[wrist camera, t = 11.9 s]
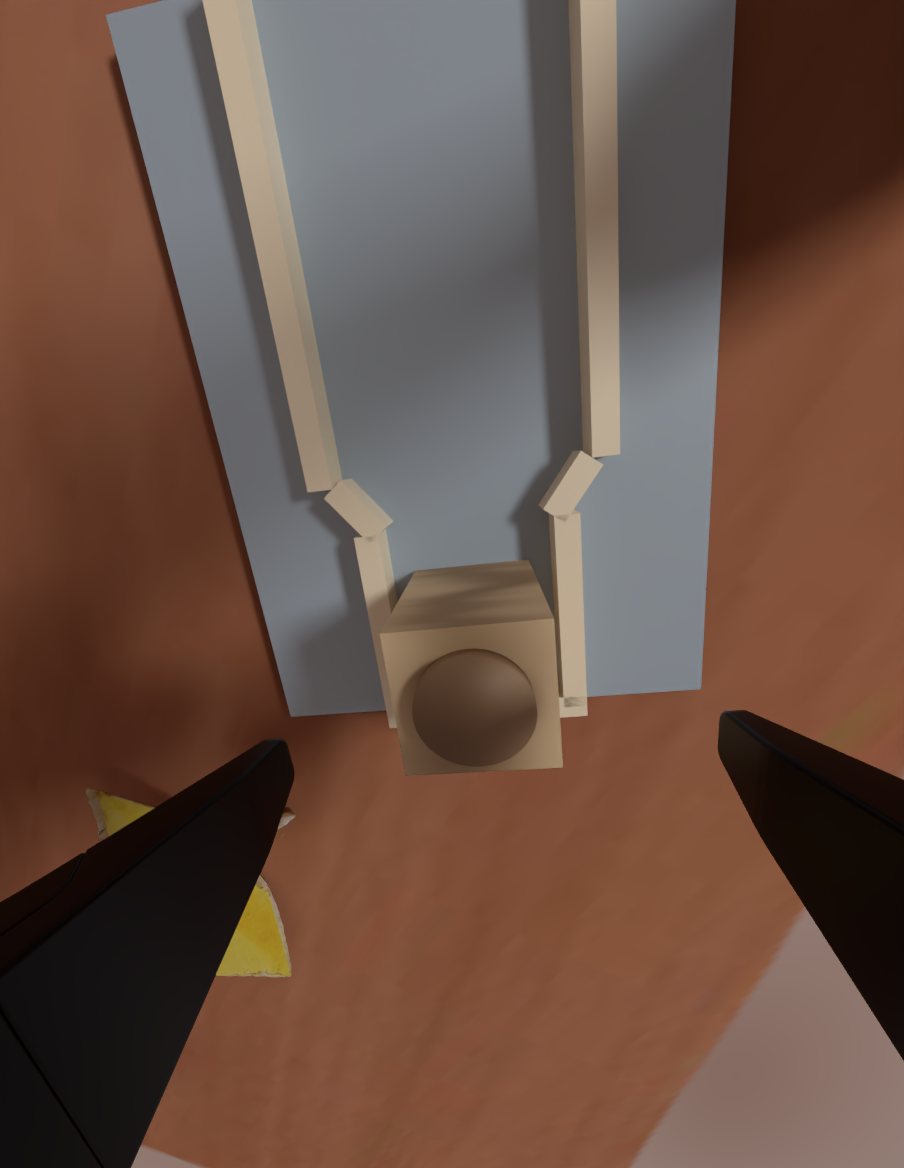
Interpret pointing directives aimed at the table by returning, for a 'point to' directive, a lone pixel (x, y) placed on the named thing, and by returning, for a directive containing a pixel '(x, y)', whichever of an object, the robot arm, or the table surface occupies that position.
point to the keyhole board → (452, 308)
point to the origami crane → (260, 926)
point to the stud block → (474, 671)
